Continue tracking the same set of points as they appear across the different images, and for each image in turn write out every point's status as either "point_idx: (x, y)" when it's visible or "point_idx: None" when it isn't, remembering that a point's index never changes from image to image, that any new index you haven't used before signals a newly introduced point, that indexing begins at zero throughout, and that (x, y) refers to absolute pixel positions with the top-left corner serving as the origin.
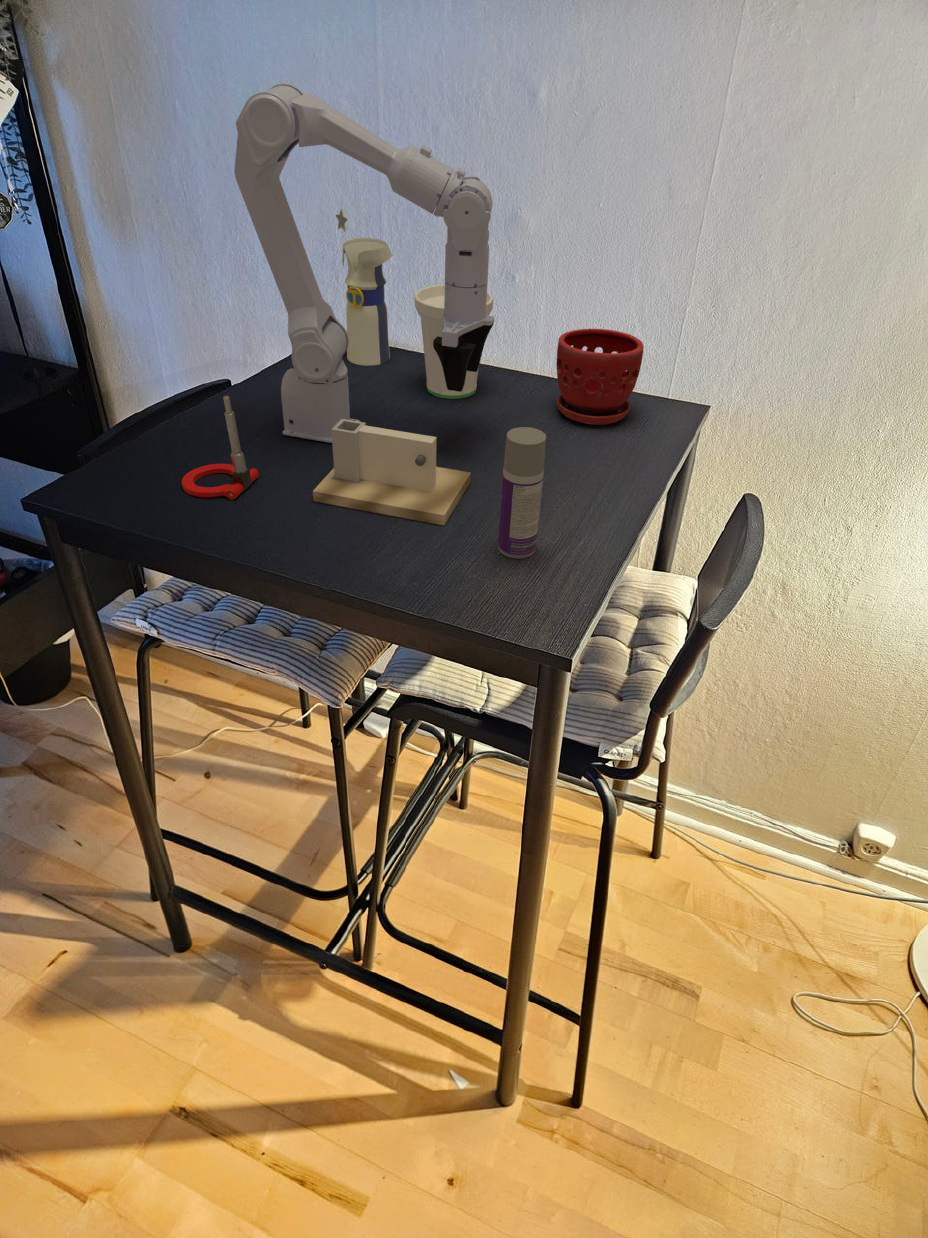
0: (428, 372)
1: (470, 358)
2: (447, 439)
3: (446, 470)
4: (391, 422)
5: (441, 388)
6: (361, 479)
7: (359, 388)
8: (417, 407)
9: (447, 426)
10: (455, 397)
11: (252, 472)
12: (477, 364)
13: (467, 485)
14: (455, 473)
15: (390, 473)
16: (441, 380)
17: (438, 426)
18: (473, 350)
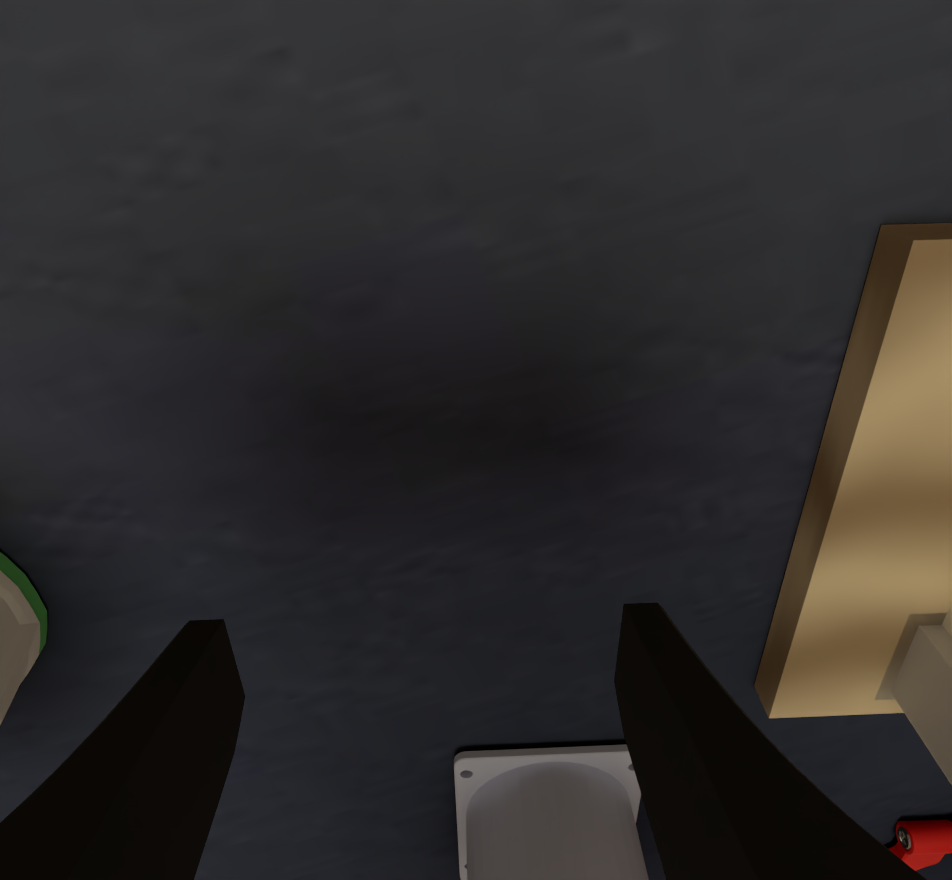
0: None
1: (200, 749)
2: (450, 460)
3: (897, 362)
4: (392, 680)
5: (25, 644)
6: None
7: None
8: None
9: (317, 500)
10: (7, 562)
11: (935, 846)
12: (201, 664)
13: (942, 225)
14: (929, 312)
15: None
16: (6, 678)
17: (337, 531)
18: (160, 807)
